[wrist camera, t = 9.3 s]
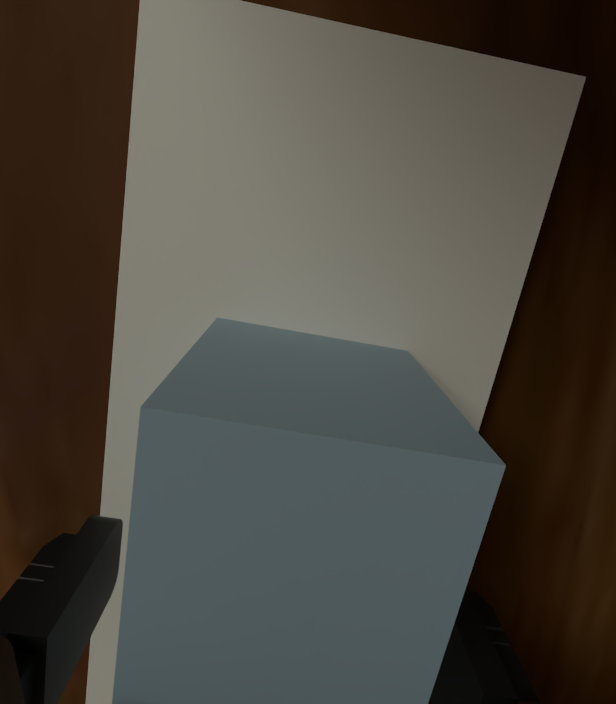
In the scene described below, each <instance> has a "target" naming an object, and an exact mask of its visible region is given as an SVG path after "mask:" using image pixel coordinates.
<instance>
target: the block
mask: <svg viewBox="0 0 616 704" xmlns="http://www.w3.org/2000/svg"><path fill="white" fill-rule="evenodd" d="M505 467H506V465H505V464H504V463H503V461H502V460H501V459H500V458H499V457H498V456H497V454H496V453H495V452H494V451H493V450H492V449H491V447H490V446H489V445H488V444H487V443H486V442H485V440H484V439H483V438H482V437H481V436H480V435H479V433H478V432H477V431H476V430H475V429H474V428H473V426H472V425H471V424H470V423H469V422H468V420H467V419H466V418H465V417H464V416H463V415H462V413H461V412H460V411H459V410H458V409H457V408H456V406H455V405H454V404H453V403H452V402H451V401H450V399H449V398H448V397H447V396H446V395H445V394H444V392H443V391H442V390H441V389H440V388H439V387H438V385H437V384H436V383H435V382H434V381H433V380H432V378H431V377H430V376H429V375H428V374H427V373H426V371H425V370H424V369H423V368H422V367H421V366H420V364H419V363H418V362H417V361H416V360H415V359H414V357H413V356H412V355H411V354H410V353H409V352H408V351H406V350H400V349H395V348H389V347H383V346H378V345H372V344H366V343H360V342H355V341H349V340H343V339H337V338H332V337H326V336H320V335H315V334H309V333H303V332H297V331H292V330H286V329H280V328H275V327H269V326H263V325H257V324H252V323H246V322H240V321H234V320H229V319H223V318H216V320H215V321H214V322H213V323H212V324H211V325H210V327H209V328H208V329H207V330H206V331H205V332H204V334H203V335H202V336H201V337H200V338H199V339H198V341H197V342H196V343H195V344H194V345H193V346H192V347H191V349H190V350H189V351H188V352H187V353H186V354H185V356H184V357H183V358H182V359H181V360H180V361H179V363H178V364H177V365H176V366H175V367H174V368H173V370H172V371H171V372H170V373H169V374H168V375H167V377H166V378H165V379H164V380H163V381H162V382H161V384H160V385H159V386H158V387H157V388H156V389H155V391H154V392H153V393H152V394H151V395H150V396H149V398H148V399H147V400H146V401H145V402H144V403H143V405H142V406H141V407H140V417H139V427H138V438H137V448H136V458H135V469H134V479H133V490H132V500H131V510H130V521H129V531H128V542H127V552H126V562H125V573H124V583H123V594H122V604H121V614H120V625H119V635H118V646H117V656H116V666H115V677H114V687H113V698H112V704H428V702H429V699H430V696H431V693H432V690H433V687H434V684H435V681H436V678H437V675H438V672H439V669H440V666H441V663H442V660H443V657H444V653H445V650H446V647H447V644H448V641H449V638H450V635H451V632H452V629H453V626H454V623H455V620H456V617H457V614H458V611H459V608H460V605H461V602H462V598H463V595H464V592H465V589H466V586H467V583H468V580H469V577H470V574H471V571H472V568H473V565H474V562H475V559H476V556H477V553H478V550H479V547H480V543H481V540H482V537H483V534H484V531H485V528H486V525H487V522H488V519H489V516H490V513H491V510H492V507H493V504H494V501H495V498H496V495H497V492H498V488H499V485H500V482H501V479H502V476H503V473H504V470H505Z"/></svg>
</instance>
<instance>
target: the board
mask: <svg viewBox="0 0 616 704" xmlns="http://www.w3.org/2000/svg"><path fill="white" fill-rule="evenodd" d="M585 79H586V77H584V76H580V75H575V74H571V73H566V72H562V71H557V70H553V69H548V68H544V67H539V66H534V65H530V64H525V63H521V62H516V61H512V60H507V59H503V58H498V57H494V56H489V55H485V54H480V53H476V52H471V51H467V50H462V49H458V48H453V47H449V46H444V45H440V44H435V43H431V42H426V41H421V40H417V39H412V38H408V37H403V36H399V35H394V34H390V33H385V32H381V31H376V30H372V29H367V28H363V27H358V26H354V25H349V24H345V23H340V22H336V21H331V20H327V19H322V18H318V17H313V16H308V15H304V14H299V13H295V12H290V11H286V10H281V9H277V8H272V7H268V6H263V5H259V4H254V3H250V2H245V1H241V0H140V6H139V19H138V32H137V45H136V58H135V71H134V84H133V96H132V109H131V122H130V135H129V148H128V161H127V174H126V187H125V200H124V213H123V226H122V239H121V252H120V265H119V278H118V291H117V304H116V317H115V329H114V342H113V355H112V368H111V381H110V394H109V407H108V420H107V433H106V446H105V459H104V472H103V485H102V498H101V511H100V516H103V517H110V518H117V519H122V522H123V529H122V540H121V551H120V561H119V571H118V576H117V580H116V584H115V587H114V590H113V593H112V595H111V597H110V599H109V601H108V603H107V605H106V607H105V609H104V611H103V613H102V615H101V617H100V619H99V621H98V623H97V625H96V627H95V629H94V631H93V633H92V635H91V640H90V653H89V666H88V679H87V692H86V704H112V698H113V687H114V677H115V666H116V656H117V646H118V635H119V625H120V614H121V604H122V594H123V583H124V573H125V562H126V552H127V542H128V531H129V521H130V510H131V500H132V490H133V479H134V469H135V458H136V448H137V438H138V427H139V417H140V407H141V406H142V405H143V403H144V402H145V401H146V400H147V399H148V398H149V396H150V395H151V394H152V393H153V392H154V391H155V389H156V388H157V387H158V386H159V385H160V384H161V382H162V381H163V380H164V379H165V378H166V377H167V375H168V374H169V373H170V372H171V371H172V370H173V368H174V367H175V366H176V365H177V364H178V363H179V361H180V360H181V359H182V358H183V357H184V356H185V354H186V353H187V352H188V351H189V350H190V349H191V347H192V346H193V345H194V344H195V343H196V342H197V341H198V339H199V338H200V337H201V336H202V335H203V334H204V332H205V331H206V330H207V329H208V328H209V327H210V325H211V324H212V323H213V322H214V321H215V320H216V318H223V319H229V320H234V321H240V322H246V323H252V324H257V325H263V326H269V327H275V328H280V329H286V330H292V331H297V332H303V333H309V334H315V335H320V336H326V337H332V338H337V339H343V340H349V341H355V342H360V343H366V344H372V345H378V346H383V347H389V348H395V349H400V350H406V351H408V352H409V353H410V354H411V355H412V356H413V357H414V359H415V360H416V361H417V362H418V363H419V364H420V366H421V367H422V368H423V369H424V370H425V371H426V373H427V374H428V375H429V376H430V377H431V378H432V380H433V381H434V382H435V383H436V384H437V385H438V387H439V388H440V389H441V390H442V391H443V392H444V394H445V395H446V396H447V397H448V398H449V399H450V401H451V402H452V403H453V404H454V405H455V406H456V408H457V409H458V410H459V411H460V412H461V413H462V415H463V416H464V417H465V418H466V419H467V420H468V422H469V423H470V424H471V425H472V426H473V428H474V429H475V430H476V431H477V432H478V431H479V428H480V425H481V422H482V418H483V415H484V412H485V408H486V405H487V402H488V399H489V395H490V392H491V389H492V385H493V382H494V379H495V376H496V372H497V369H498V366H499V362H500V359H501V356H502V353H503V349H504V346H505V343H506V339H507V336H508V333H509V329H510V326H511V323H512V320H513V316H514V313H515V310H516V306H517V303H518V300H519V297H520V293H521V290H522V287H523V283H524V280H525V277H526V274H527V270H528V267H529V264H530V260H531V257H532V254H533V251H534V247H535V244H536V241H537V237H538V234H539V231H540V227H541V224H542V221H543V218H544V214H545V211H546V208H547V204H548V201H549V198H550V195H551V191H552V188H553V185H554V181H555V178H556V175H557V172H558V168H559V165H560V162H561V158H562V155H563V152H564V149H565V145H566V142H567V139H568V135H569V132H570V129H571V125H572V122H573V119H574V116H575V112H576V109H577V106H578V102H579V99H580V96H581V93H582V89H583V86H584V83H585Z"/></svg>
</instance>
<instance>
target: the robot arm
mask: <svg viewBox="0 0 616 704" xmlns="http://www.w3.org/2000/svg"><path fill="white" fill-rule="evenodd" d="M122 529H123V522H122V519H117V518H110V517H103V516H96V515H91V516H90V517H89V518H88V519H87V521H86V522H85V524H84V525H83V526H82V528H81V529H80V531H79V532H78V533H77V535H74V534H67V533H63V534H61V535H60V536H58V537H57V538H55V539H53V540H52V541H50V542H49V543H47V544H46V545H44V546H43V547H42V549H41V550H40V551H39V553H38V554H37V555H36V556H35V558H34V559H33V560H32V561H31V564H30V566H27V568H26V569H25V570H24V572H23V573H22V574H21V575H20V578H19V580H16V582H15V583H14V584H13V586H12V587H11V588H10V589H9V591H8V592H7V593H6V594H5V596H4V597H3V598H2V599H1V601H0V704H57V703H58V701H59V699H60V697H61V695H62V693H63V691H64V689H65V687H66V685H67V683H68V681H69V679H70V677H71V675H72V673H73V671H74V669H75V667H76V665H77V663H78V661H79V659H80V657H81V655H82V653H83V651H84V649H85V647H86V645H87V643H88V641H89V639H90V637H91V635H92V633H93V631H94V629H95V627H96V625H97V623H98V621H99V619H100V617H101V615H102V613H103V611H104V609H105V607H106V605H107V603H108V601H109V599H110V597H111V595H112V593H113V590H114V587H115V584H116V580H117V576H118V571H119V561H120V551H121V540H122ZM430 701H431V704H540V702H539V700H538V698H537V696H536V694H535V692H534V690H533V688H532V686H531V684H530V682H529V680H528V678H527V676H526V674H525V672H524V670H523V668H522V666H521V664H520V662H519V660H518V658H517V656H516V654H515V652H514V650H513V648H512V647H510V642H509V640H508V639H507V637H506V635H505V633H504V631H502V627H501V625H500V623H499V621H498V619H497V617H496V615H495V613H494V611H493V609H492V608H491V607H490V606H489V605H488V604H487V602H486V601H485V600H484V599H483V598H482V597H481V596H480V595H479V594H478V593H477V592H471V591H469V590H468V588H467V586H466V589H465V592H464V595H463V598H462V602H461V605H460V608H459V611H458V614H457V617H456V620H455V623H454V626H453V629H452V632H451V635H450V638H449V641H448V644H447V647H446V650H445V653H444V657H443V660H442V663H441V666H440V669H439V672H438V675H437V678H436V681H435V684H434V687H433V690H432V693H431V696H430Z"/></svg>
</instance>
